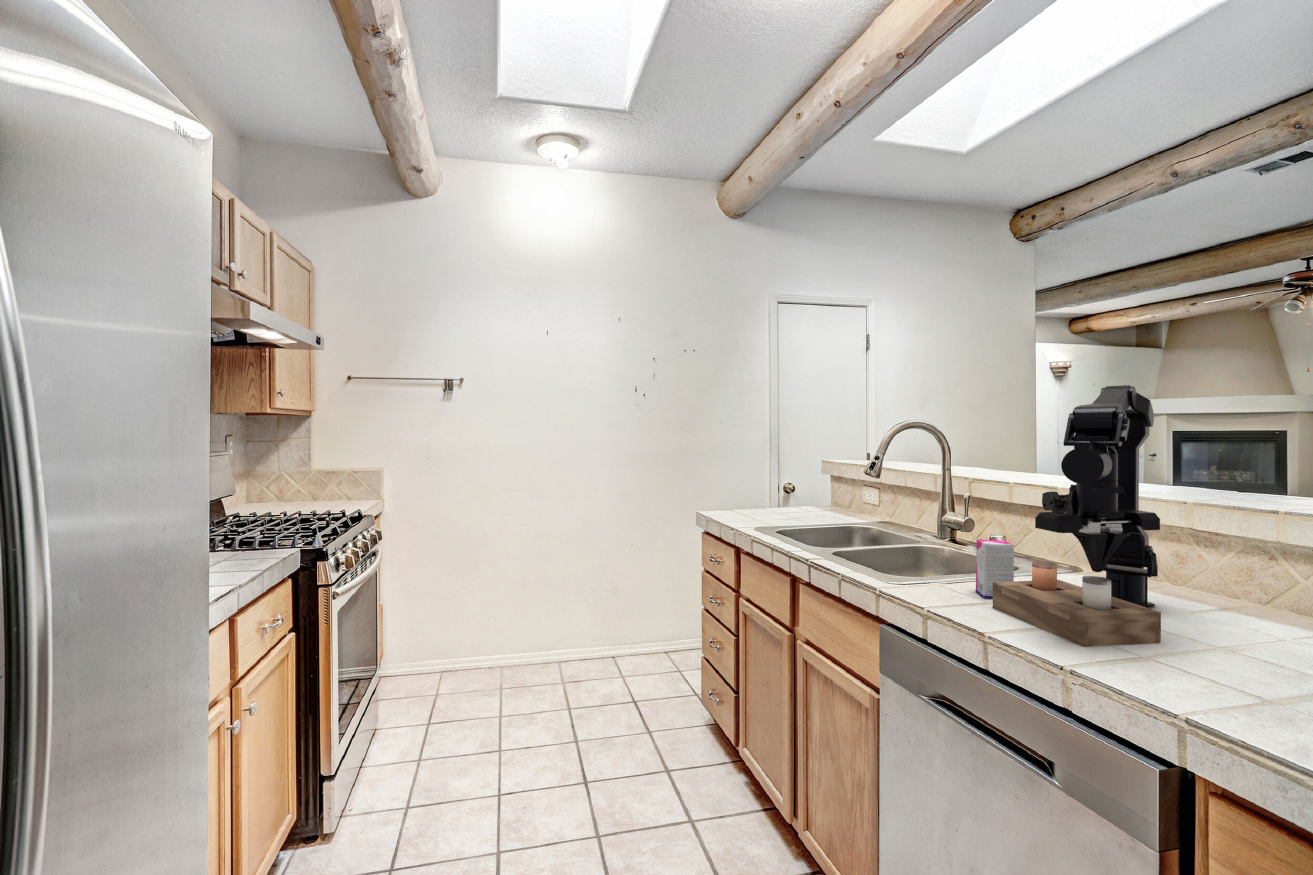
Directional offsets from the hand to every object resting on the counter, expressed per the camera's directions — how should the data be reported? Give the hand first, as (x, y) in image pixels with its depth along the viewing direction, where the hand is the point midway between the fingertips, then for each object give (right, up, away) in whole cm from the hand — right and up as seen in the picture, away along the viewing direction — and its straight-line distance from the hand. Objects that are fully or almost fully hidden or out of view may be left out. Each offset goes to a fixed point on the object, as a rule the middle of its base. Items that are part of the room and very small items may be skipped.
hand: (1096, 571), depth 105 cm
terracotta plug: (-1, -7, +12) cm, 14 cm away
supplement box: (-4, -11, +25) cm, 27 cm away
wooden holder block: (-1, -11, +6) cm, 12 cm away
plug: (0, -7, 0) cm, 7 cm away
